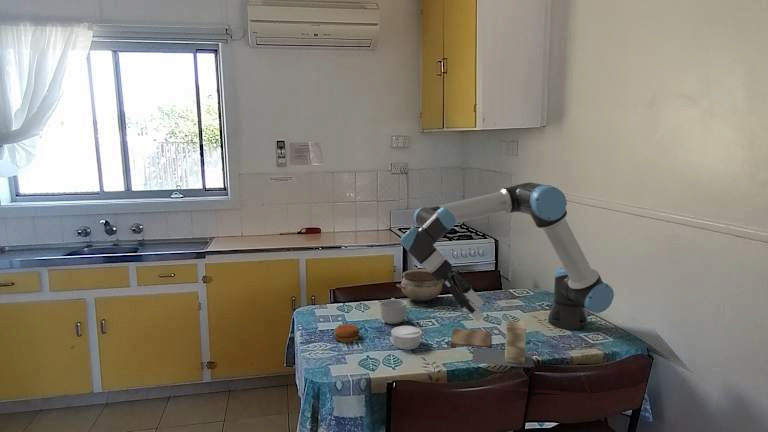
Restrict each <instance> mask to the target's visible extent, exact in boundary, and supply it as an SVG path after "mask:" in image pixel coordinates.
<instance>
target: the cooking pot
mask: <svg viewBox="0 0 768 432" xmlns="http://www.w3.org/2000/svg"><path fill="white" fill-rule="evenodd" d="M430 273H431V272H428V271H427V270H426V269H410V270H406V271H404V272H403V273H402V276H403V277H402V279H401V283H400V284H398V283H397V284H396V287H397V288H400V289H401V291H402V293H403V295H404V296H406V297H408V298H409V299H410V300H413V301H414V302H416V303H427V302H429V301H431V300H433V299H435V298H437V297H438V296H439V295H440V293H441V292H442V290H443V285H444V284H443V283H444V280H443V279H441V280H440V281H436V280H435V279H434V278H433V277H432V276H431V274H430Z"/></svg>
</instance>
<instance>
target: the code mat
mask: <svg viewBox="0 0 768 432" xmlns="http://www.w3.org/2000/svg"><path fill="white" fill-rule="evenodd" d="M471 363H472V364H474V363H475V364H485V365H498V366H509V367H520V368H531V367H534V368H535V364H534V363H535V362H534V357H533V353H532V352H525V361H524V363H516V362H506V358H505V350H497V349H483V348H472V360H471Z"/></svg>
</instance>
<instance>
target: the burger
mask: <svg viewBox="0 0 768 432" xmlns="http://www.w3.org/2000/svg"><path fill="white" fill-rule="evenodd" d="M359 335H360V329H359V327H358V326H357V325H355V324H347V323H342V324H339V325H338V326H337V327H335V329H334V335H333V337H334V339H335V340H336V341H338V342H340V343H342V344H343V343H353V342H356V341H358V339H359Z"/></svg>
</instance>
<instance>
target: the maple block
mask: <svg viewBox="0 0 768 432" xmlns="http://www.w3.org/2000/svg"><path fill="white" fill-rule="evenodd" d="M505 327H506V328H505V329H506V330H505V348H504V349H505V350H504V351H505V358H506V362H516V363H524V361H525V353H526V337H527V336H526V334H527V327H526V322H525V321H514V320H513V321H511V320H506V326H505Z"/></svg>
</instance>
